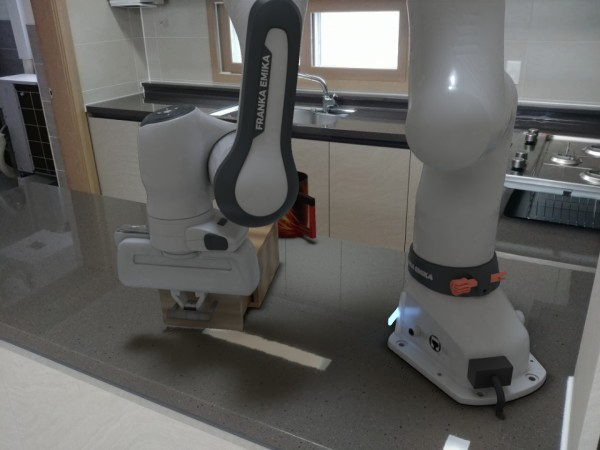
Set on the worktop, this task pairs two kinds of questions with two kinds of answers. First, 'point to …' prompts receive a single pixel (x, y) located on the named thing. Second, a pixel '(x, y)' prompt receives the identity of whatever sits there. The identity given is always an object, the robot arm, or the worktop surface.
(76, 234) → the worktop surface
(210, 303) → the drawer
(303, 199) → the mug
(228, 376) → the worktop surface
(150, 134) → the robot arm
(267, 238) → the cabinet
